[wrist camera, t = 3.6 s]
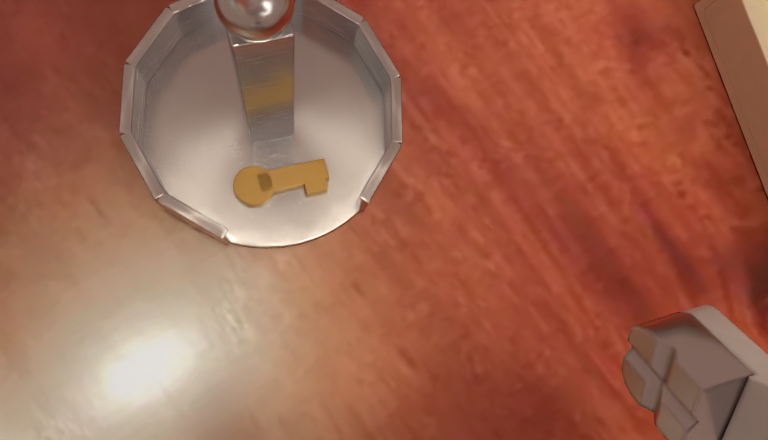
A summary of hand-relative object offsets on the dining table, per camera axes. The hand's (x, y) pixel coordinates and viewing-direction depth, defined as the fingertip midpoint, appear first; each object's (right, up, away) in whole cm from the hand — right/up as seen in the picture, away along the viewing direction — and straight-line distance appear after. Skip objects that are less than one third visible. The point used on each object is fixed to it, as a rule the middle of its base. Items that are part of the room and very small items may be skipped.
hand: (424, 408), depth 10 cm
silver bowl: (-6, +8, +18) cm, 20 cm away
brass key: (-5, +5, +17) cm, 18 cm away
